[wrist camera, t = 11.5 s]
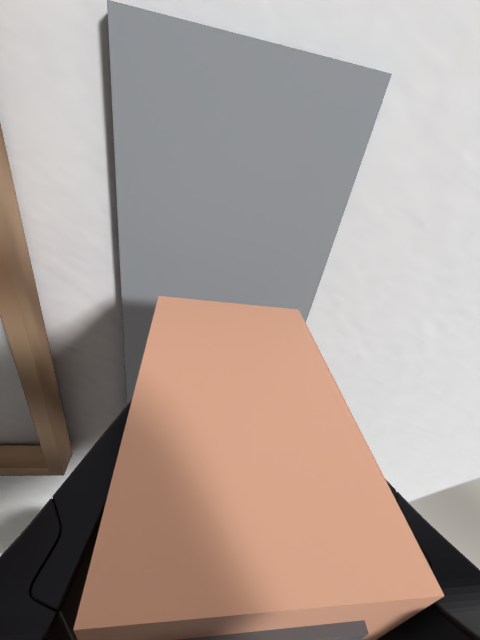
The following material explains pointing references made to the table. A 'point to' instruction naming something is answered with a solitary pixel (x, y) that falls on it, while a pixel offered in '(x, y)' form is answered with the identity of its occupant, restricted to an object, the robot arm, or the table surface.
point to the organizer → (28, 345)
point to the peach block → (246, 495)
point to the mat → (227, 165)
